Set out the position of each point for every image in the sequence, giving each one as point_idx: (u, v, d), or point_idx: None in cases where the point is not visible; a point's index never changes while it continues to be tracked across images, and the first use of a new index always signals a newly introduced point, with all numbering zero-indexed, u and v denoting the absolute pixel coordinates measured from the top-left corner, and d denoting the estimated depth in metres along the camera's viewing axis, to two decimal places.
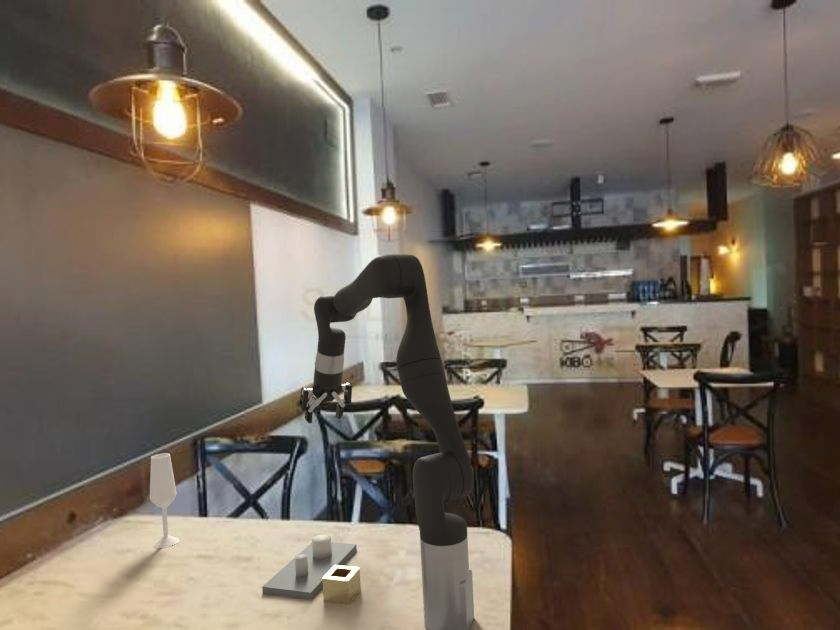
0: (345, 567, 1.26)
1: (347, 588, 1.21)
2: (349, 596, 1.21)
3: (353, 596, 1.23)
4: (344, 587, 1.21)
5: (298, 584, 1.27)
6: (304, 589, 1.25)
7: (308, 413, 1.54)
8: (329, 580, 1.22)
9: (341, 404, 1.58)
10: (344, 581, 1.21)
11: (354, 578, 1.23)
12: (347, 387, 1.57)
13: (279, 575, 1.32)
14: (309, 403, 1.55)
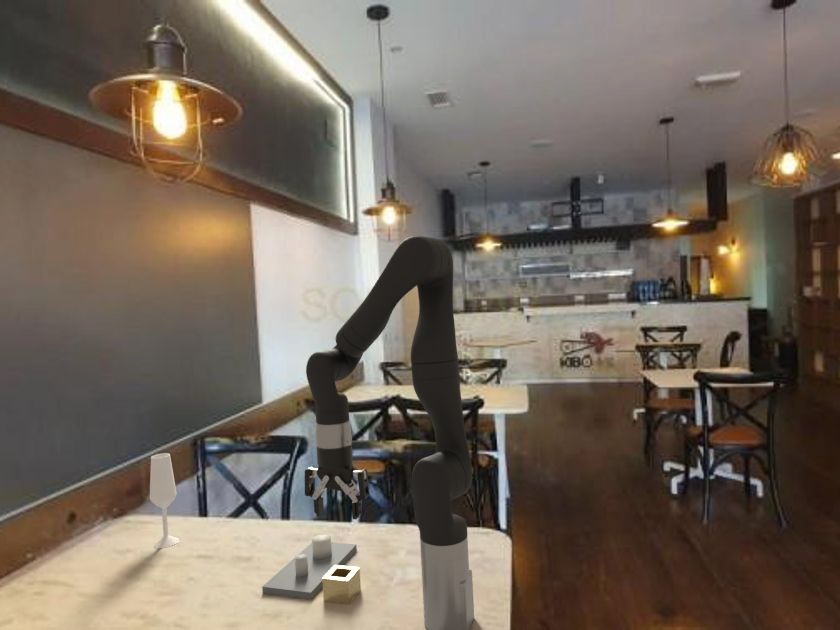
0: (345, 567, 1.26)
1: (347, 588, 1.21)
2: (349, 596, 1.21)
3: (353, 596, 1.23)
4: (344, 587, 1.21)
5: (298, 584, 1.27)
6: (304, 589, 1.25)
7: (315, 501, 1.24)
8: (329, 580, 1.22)
9: (352, 497, 1.21)
10: (344, 581, 1.21)
11: (354, 578, 1.23)
12: (358, 475, 1.21)
13: (279, 575, 1.32)
14: None
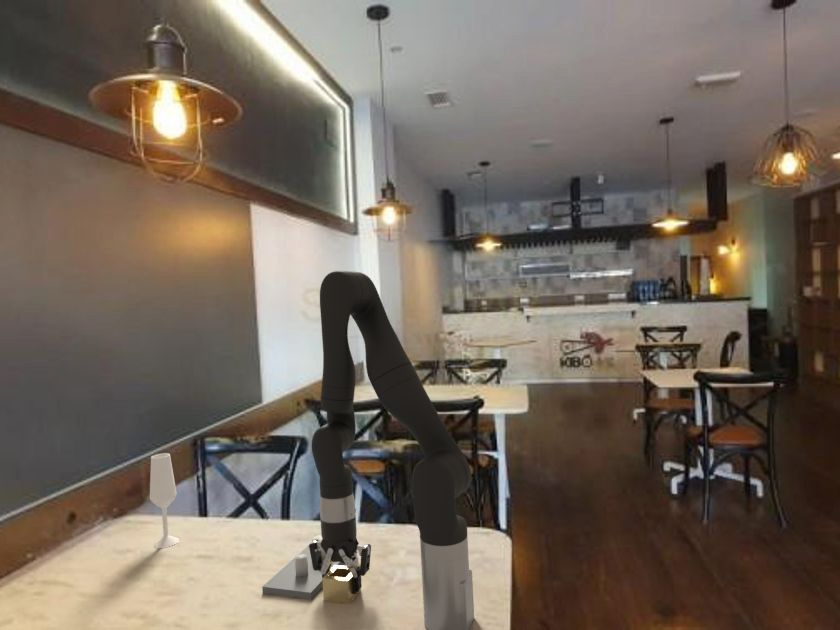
0: (345, 567, 1.26)
1: (347, 588, 1.21)
2: (349, 596, 1.21)
3: (353, 596, 1.23)
4: (344, 587, 1.21)
5: (298, 584, 1.27)
6: (304, 589, 1.25)
7: (323, 576, 1.25)
8: (329, 580, 1.22)
9: (352, 573, 1.22)
10: (344, 581, 1.21)
11: None
12: (362, 550, 1.21)
13: (279, 575, 1.32)
14: None
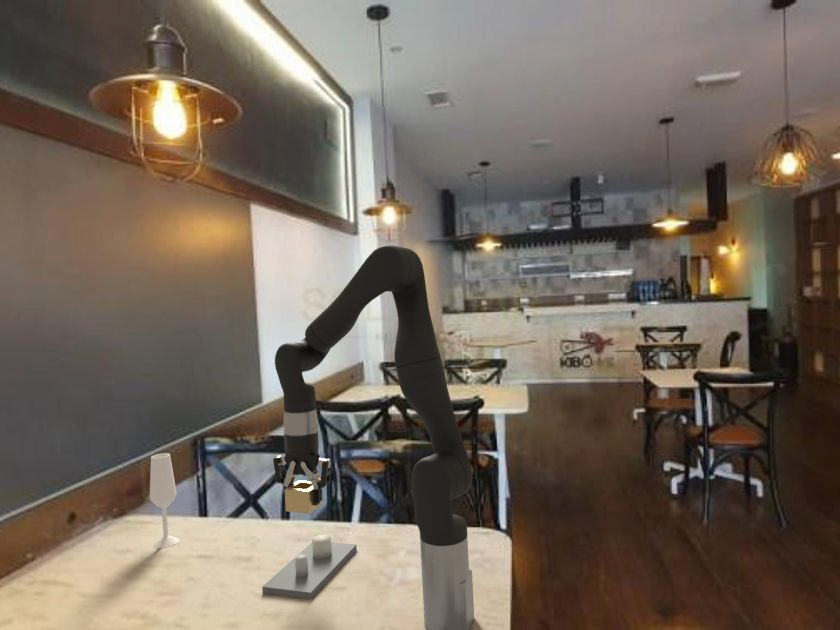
0: (308, 482, 1.32)
1: (308, 498, 1.26)
2: (310, 506, 1.27)
3: (314, 507, 1.28)
4: (305, 497, 1.26)
5: (298, 584, 1.27)
6: (304, 589, 1.25)
7: None
8: (291, 491, 1.27)
9: (313, 485, 1.28)
10: (305, 492, 1.26)
11: None
12: None
13: (279, 575, 1.32)
14: None
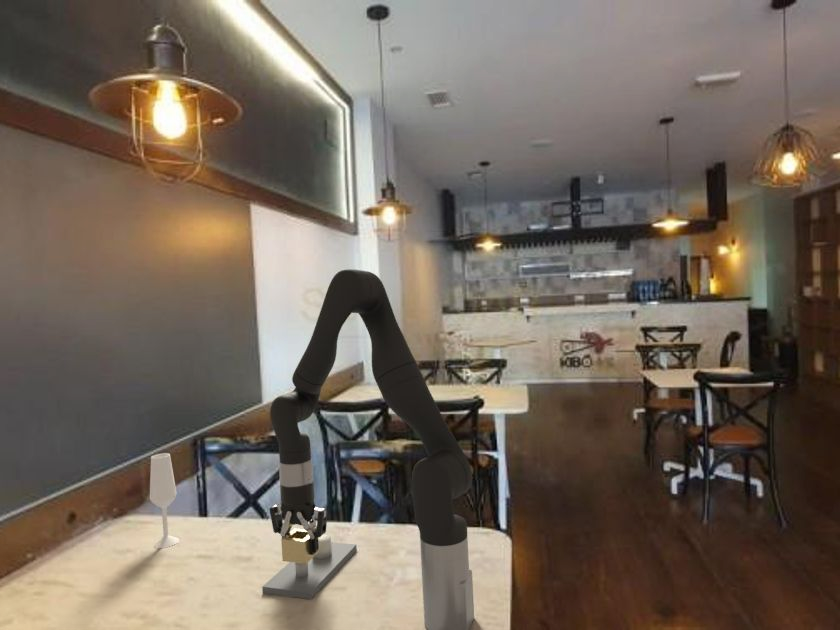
0: (304, 530, 1.34)
1: (304, 548, 1.28)
2: (306, 556, 1.28)
3: (310, 556, 1.30)
4: (301, 547, 1.28)
5: (298, 584, 1.27)
6: (304, 589, 1.25)
7: None
8: (287, 541, 1.29)
9: (309, 534, 1.29)
10: (301, 542, 1.28)
11: None
12: None
13: (279, 575, 1.32)
14: None
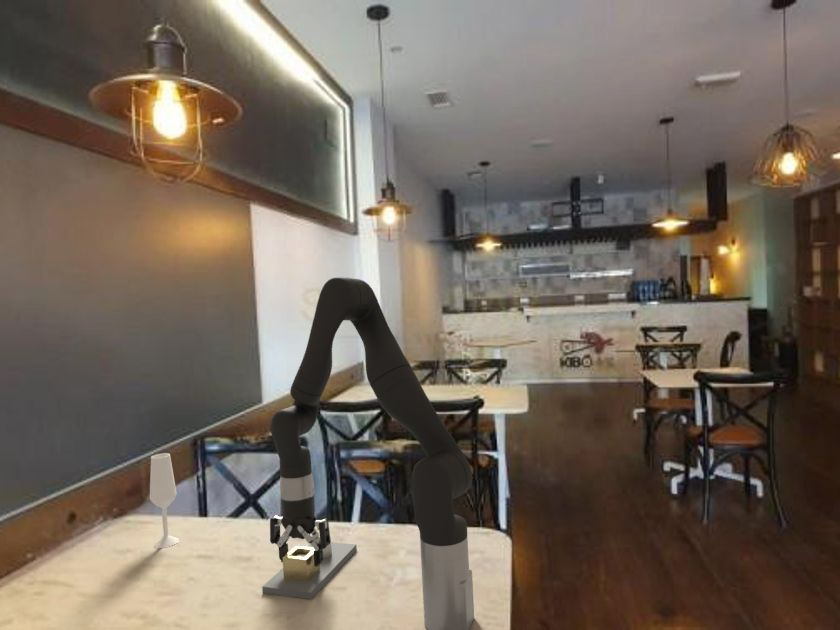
0: (305, 548, 1.34)
1: (305, 566, 1.28)
2: (307, 574, 1.28)
3: (312, 574, 1.30)
4: (302, 566, 1.28)
5: (298, 584, 1.27)
6: (304, 589, 1.25)
7: (280, 548, 1.32)
8: (289, 559, 1.29)
9: (314, 546, 1.29)
10: (302, 560, 1.28)
11: (313, 558, 1.31)
12: None
13: (279, 575, 1.32)
14: None
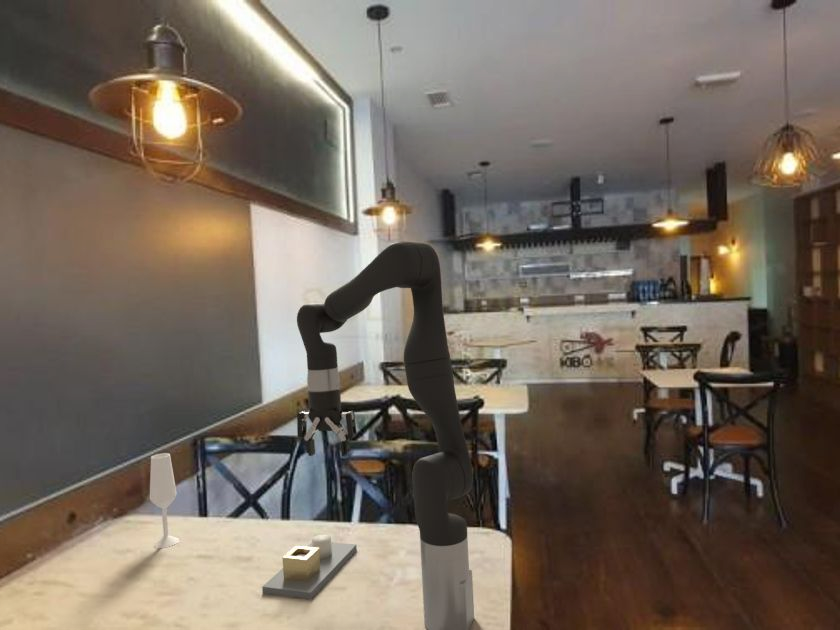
0: (305, 548, 1.34)
1: (305, 566, 1.28)
2: (307, 574, 1.28)
3: (312, 574, 1.30)
4: (302, 566, 1.28)
5: (298, 584, 1.27)
6: (304, 589, 1.25)
7: (307, 442, 1.37)
8: (289, 559, 1.29)
9: (341, 436, 1.33)
10: (302, 560, 1.28)
11: (313, 558, 1.31)
12: (346, 415, 1.33)
13: (279, 575, 1.32)
14: None
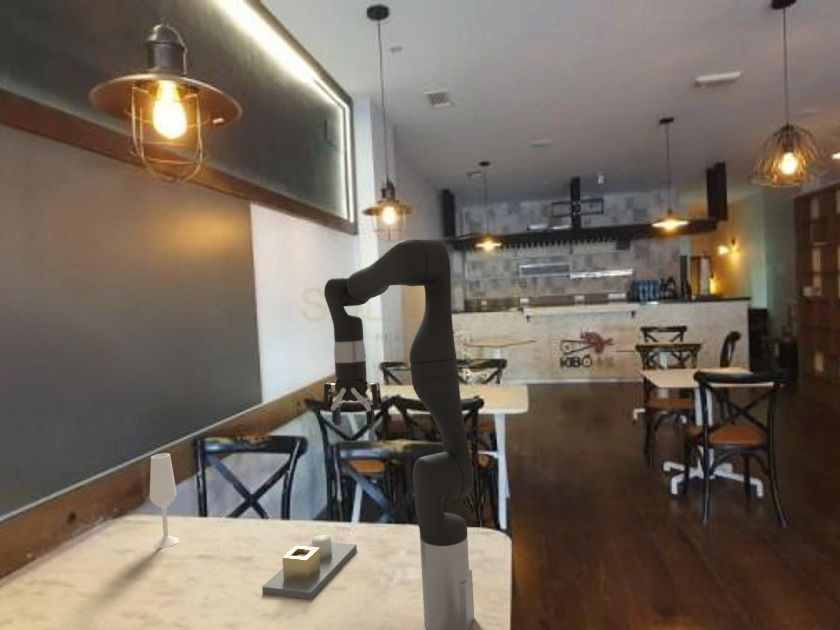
0: (305, 548, 1.34)
1: (305, 566, 1.28)
2: (307, 574, 1.28)
3: (312, 574, 1.30)
4: (302, 566, 1.28)
5: (298, 584, 1.27)
6: (304, 589, 1.25)
7: (333, 412, 1.41)
8: (289, 559, 1.29)
9: (366, 407, 1.38)
10: (302, 560, 1.28)
11: (313, 558, 1.31)
12: None
13: (279, 575, 1.32)
14: None
